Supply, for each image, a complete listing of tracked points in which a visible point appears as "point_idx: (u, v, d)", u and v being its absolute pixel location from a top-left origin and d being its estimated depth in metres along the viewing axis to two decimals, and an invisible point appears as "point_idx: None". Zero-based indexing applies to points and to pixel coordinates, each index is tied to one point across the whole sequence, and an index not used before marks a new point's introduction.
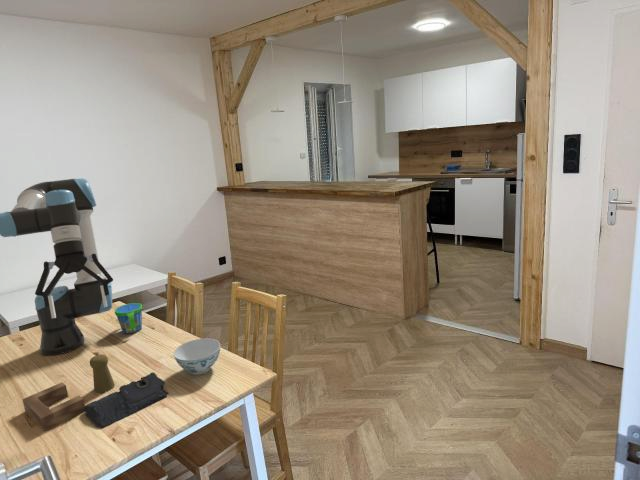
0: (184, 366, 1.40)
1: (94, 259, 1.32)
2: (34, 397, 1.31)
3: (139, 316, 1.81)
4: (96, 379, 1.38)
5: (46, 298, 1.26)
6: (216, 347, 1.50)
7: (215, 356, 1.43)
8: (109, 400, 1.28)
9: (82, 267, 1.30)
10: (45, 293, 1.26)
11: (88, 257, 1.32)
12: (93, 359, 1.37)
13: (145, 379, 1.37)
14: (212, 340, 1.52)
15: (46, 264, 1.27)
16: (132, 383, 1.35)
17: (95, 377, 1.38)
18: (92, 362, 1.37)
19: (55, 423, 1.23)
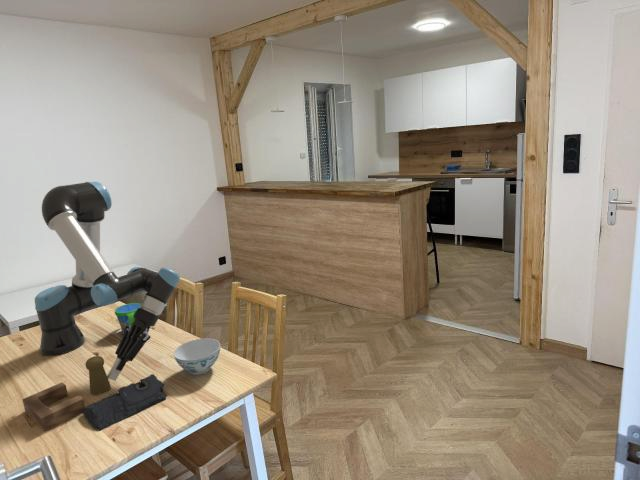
0: (184, 366, 1.40)
1: None
2: (34, 397, 1.31)
3: None
4: (92, 381, 1.37)
5: None
6: (216, 347, 1.50)
7: (215, 356, 1.43)
8: (108, 402, 1.27)
9: None
10: None
11: None
12: (89, 361, 1.36)
13: (144, 381, 1.36)
14: (212, 340, 1.52)
15: None
16: (131, 385, 1.34)
17: (91, 379, 1.37)
18: (88, 364, 1.36)
19: (55, 423, 1.23)
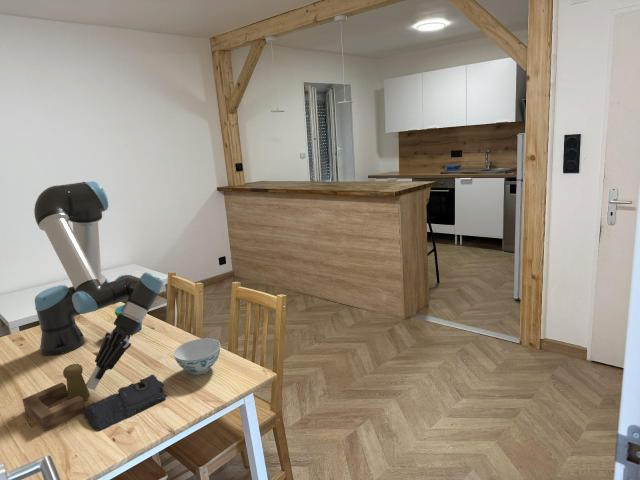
0: (184, 366, 1.40)
1: None
2: (34, 397, 1.31)
3: None
4: (68, 389, 1.33)
5: None
6: (216, 347, 1.50)
7: (215, 356, 1.43)
8: (107, 402, 1.27)
9: None
10: None
11: None
12: (66, 368, 1.32)
13: (144, 381, 1.35)
14: (212, 340, 1.52)
15: None
16: (131, 385, 1.33)
17: (68, 387, 1.33)
18: (64, 372, 1.32)
19: (55, 423, 1.23)
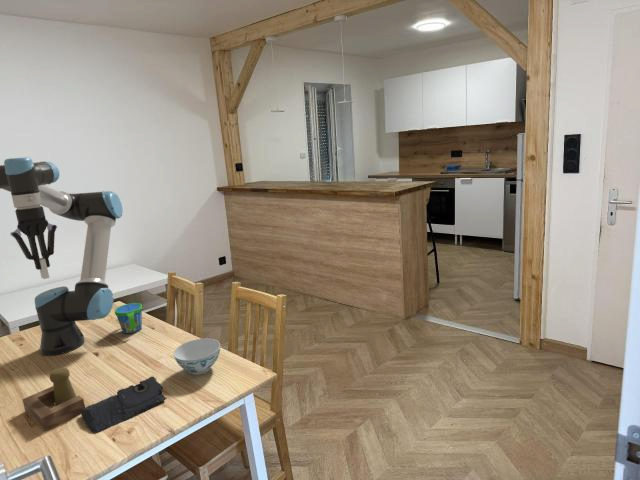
0: (184, 366, 1.40)
1: (52, 230, 1.45)
2: (34, 397, 1.31)
3: (139, 316, 1.81)
4: (54, 392, 1.32)
5: (38, 261, 1.43)
6: (216, 347, 1.50)
7: (215, 356, 1.43)
8: (106, 404, 1.26)
9: (40, 234, 1.42)
10: (37, 257, 1.42)
11: (49, 225, 1.44)
12: (52, 372, 1.31)
13: (143, 383, 1.34)
14: (212, 340, 1.52)
15: (16, 234, 1.37)
16: (130, 387, 1.32)
17: None
18: (50, 375, 1.31)
19: (55, 423, 1.23)
